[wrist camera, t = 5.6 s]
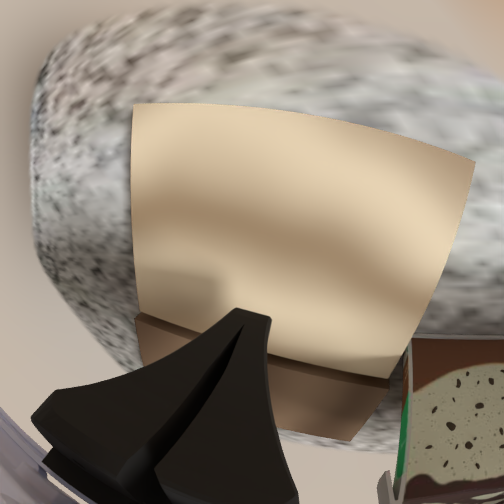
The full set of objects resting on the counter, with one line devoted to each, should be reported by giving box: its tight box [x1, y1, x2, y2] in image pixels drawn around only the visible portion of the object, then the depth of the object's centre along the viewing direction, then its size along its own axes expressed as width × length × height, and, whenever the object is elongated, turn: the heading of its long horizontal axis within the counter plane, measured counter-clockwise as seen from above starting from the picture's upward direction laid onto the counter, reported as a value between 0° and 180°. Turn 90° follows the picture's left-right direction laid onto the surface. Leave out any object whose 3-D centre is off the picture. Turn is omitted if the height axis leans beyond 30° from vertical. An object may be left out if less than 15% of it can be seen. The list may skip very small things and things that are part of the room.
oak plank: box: [131, 103, 475, 379], centre depth 12 cm, size 11×14×2 cm
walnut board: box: [135, 312, 390, 441], centre depth 17 cm, size 15×6×2 cm, turn 84°
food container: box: [377, 333, 504, 504], centre depth 9 cm, size 12×6×10 cm, turn 92°
